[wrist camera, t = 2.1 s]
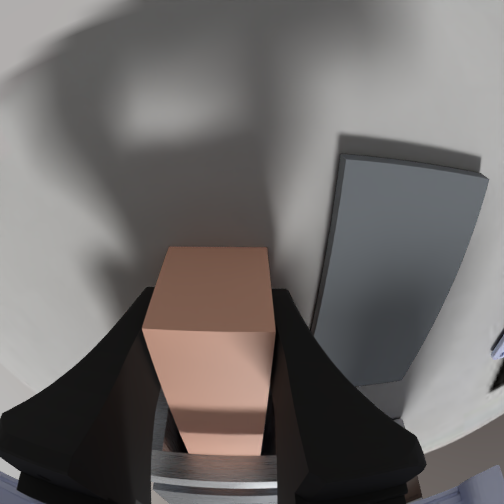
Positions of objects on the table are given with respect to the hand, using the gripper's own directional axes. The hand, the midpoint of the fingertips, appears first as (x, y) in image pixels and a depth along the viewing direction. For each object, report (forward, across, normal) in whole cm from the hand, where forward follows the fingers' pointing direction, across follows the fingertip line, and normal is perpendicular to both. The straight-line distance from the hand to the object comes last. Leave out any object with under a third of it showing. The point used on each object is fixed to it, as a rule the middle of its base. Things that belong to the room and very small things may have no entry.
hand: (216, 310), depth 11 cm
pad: (+1, -7, +1) cm, 7 cm away
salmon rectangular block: (+2, 0, +4) cm, 4 cm away
